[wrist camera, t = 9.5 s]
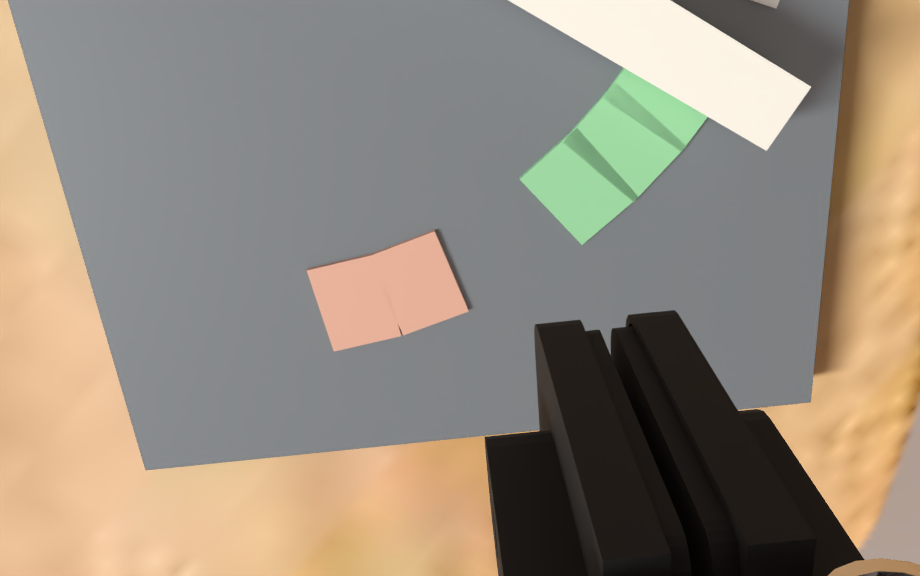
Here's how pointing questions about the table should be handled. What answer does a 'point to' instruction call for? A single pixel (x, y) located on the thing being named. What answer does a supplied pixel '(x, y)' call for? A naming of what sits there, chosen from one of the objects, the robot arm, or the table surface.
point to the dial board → (415, 210)
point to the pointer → (683, 60)
